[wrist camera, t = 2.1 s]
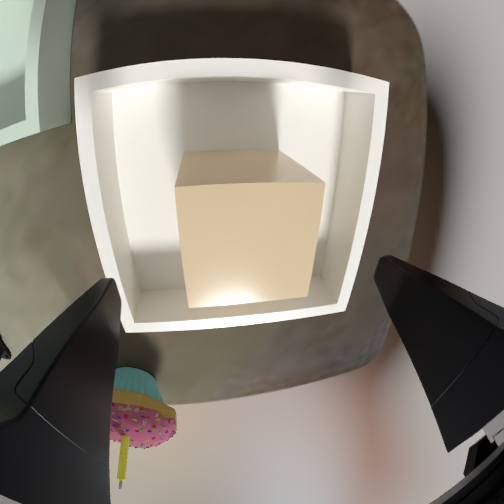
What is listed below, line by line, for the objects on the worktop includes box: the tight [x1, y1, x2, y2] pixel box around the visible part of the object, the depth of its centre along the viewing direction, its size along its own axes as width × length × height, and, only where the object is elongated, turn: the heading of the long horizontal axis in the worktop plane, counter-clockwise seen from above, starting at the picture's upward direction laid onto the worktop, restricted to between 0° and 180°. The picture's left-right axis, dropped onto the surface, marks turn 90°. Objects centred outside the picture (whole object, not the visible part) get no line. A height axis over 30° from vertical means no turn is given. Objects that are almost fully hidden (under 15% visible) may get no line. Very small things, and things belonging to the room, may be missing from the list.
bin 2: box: [74, 58, 389, 333], centre depth 14 cm, size 14×14×4 cm
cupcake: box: [110, 367, 177, 489], centre depth 18 cm, size 9×8×12 cm
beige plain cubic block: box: [175, 150, 325, 308], centre depth 12 cm, size 5×5×6 cm
